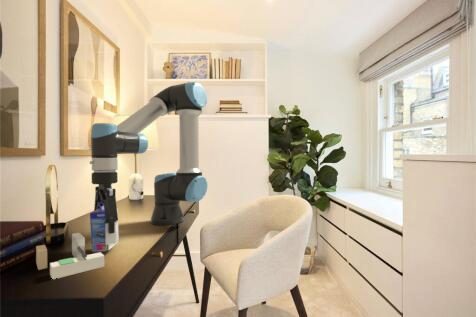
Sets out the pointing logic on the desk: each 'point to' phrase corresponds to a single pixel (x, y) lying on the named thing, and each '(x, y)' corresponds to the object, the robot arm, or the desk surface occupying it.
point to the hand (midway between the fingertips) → (105, 239)
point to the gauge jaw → (78, 245)
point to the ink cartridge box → (100, 230)
